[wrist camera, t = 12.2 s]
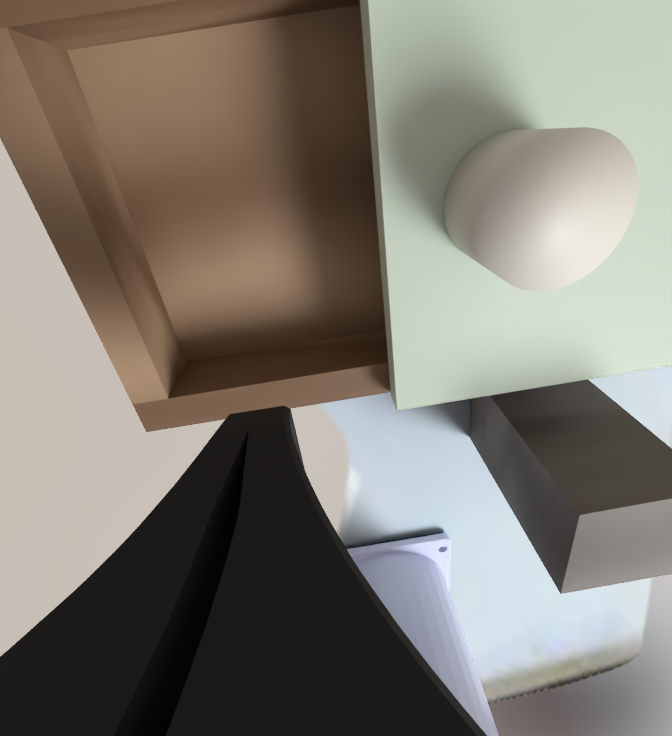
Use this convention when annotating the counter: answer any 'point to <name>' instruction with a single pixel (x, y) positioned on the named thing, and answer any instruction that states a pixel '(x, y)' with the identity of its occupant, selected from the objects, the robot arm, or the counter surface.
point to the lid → (520, 191)
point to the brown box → (206, 193)
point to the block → (580, 482)
